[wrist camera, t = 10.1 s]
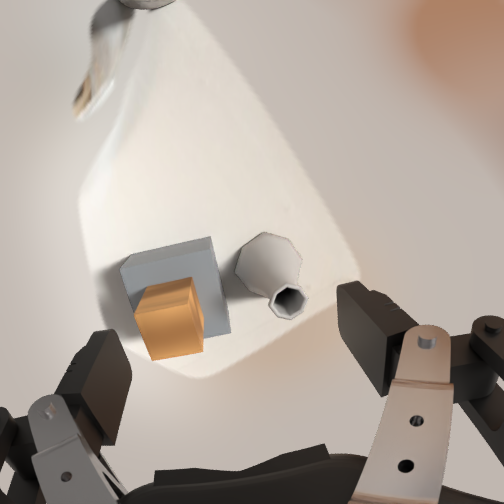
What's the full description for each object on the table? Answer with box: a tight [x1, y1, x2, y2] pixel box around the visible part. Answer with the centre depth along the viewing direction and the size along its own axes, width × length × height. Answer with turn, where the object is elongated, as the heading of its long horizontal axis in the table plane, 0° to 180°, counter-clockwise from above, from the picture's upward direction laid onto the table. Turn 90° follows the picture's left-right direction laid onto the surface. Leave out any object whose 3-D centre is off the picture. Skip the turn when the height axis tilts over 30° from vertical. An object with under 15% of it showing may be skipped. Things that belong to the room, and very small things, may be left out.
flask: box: [234, 232, 309, 320], centre depth 31 cm, size 7×7×10 cm
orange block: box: [134, 277, 204, 361], centre depth 27 cm, size 4×4×6 cm
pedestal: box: [119, 236, 231, 339], centre depth 32 cm, size 9×9×5 cm
